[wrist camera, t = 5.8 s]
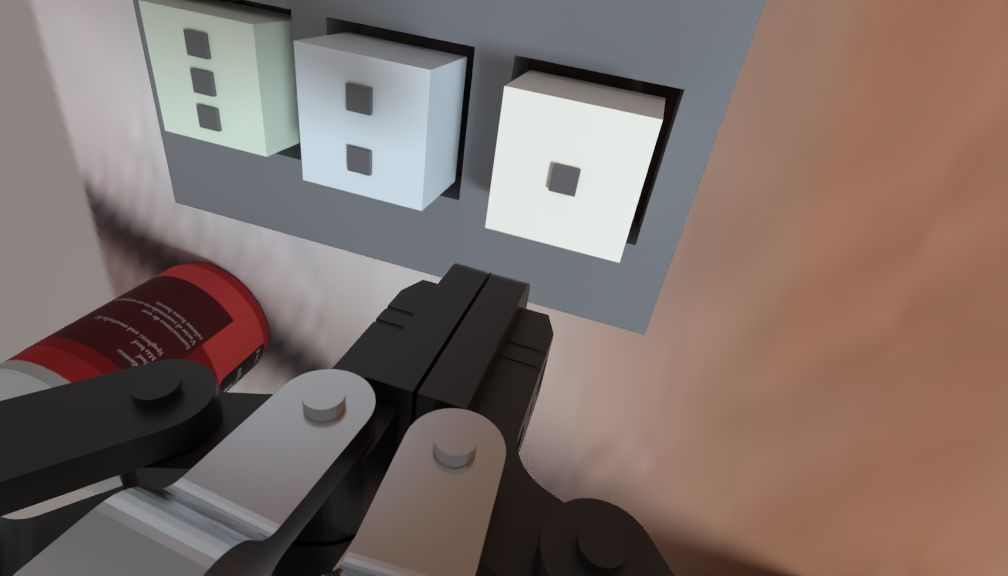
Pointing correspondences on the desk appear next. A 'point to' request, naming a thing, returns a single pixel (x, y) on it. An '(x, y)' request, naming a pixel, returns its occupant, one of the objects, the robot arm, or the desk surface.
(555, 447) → the desk surface
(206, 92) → the white block
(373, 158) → the white cube
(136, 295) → the canned food
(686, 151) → the keypad board
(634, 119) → the white square block
